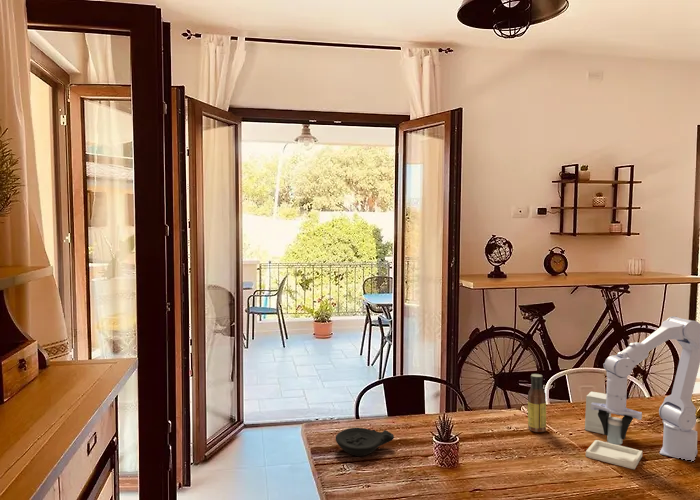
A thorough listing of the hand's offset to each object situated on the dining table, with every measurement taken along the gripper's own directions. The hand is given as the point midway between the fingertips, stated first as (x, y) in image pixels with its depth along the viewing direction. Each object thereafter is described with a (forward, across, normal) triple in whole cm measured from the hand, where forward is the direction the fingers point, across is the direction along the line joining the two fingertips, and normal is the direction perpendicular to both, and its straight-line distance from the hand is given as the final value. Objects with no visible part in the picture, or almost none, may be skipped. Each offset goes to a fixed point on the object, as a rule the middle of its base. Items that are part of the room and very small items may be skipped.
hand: (614, 436), depth 172 cm
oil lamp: (+7, -64, -47) cm, 79 cm away
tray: (+6, 0, 0) cm, 6 cm away
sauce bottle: (+7, -27, +6) cm, 29 cm away
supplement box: (+7, -10, +22) cm, 25 cm away
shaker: (+2, 0, 0) cm, 2 cm away
